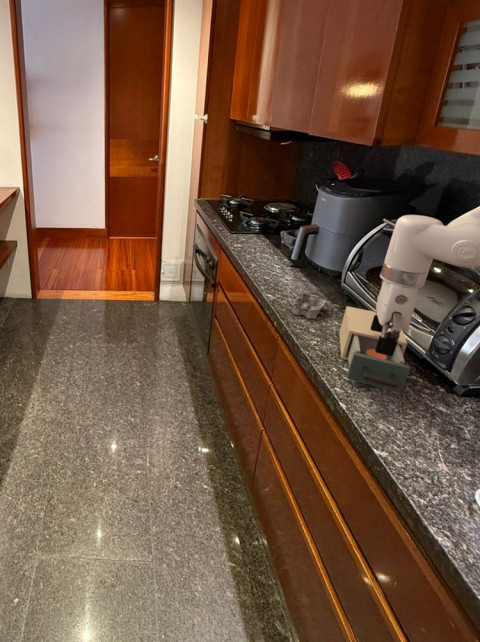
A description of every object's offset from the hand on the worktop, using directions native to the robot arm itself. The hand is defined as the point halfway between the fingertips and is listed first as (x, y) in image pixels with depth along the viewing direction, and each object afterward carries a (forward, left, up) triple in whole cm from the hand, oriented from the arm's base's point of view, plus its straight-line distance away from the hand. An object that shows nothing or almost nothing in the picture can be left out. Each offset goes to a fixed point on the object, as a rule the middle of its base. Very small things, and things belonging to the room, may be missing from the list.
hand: (380, 342), depth 88 cm
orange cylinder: (0, 0, -7) cm, 7 cm away
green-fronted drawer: (0, +1, -8) cm, 9 cm away
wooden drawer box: (-2, -10, -9) cm, 14 cm away
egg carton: (+9, -28, -10) cm, 31 cm away
